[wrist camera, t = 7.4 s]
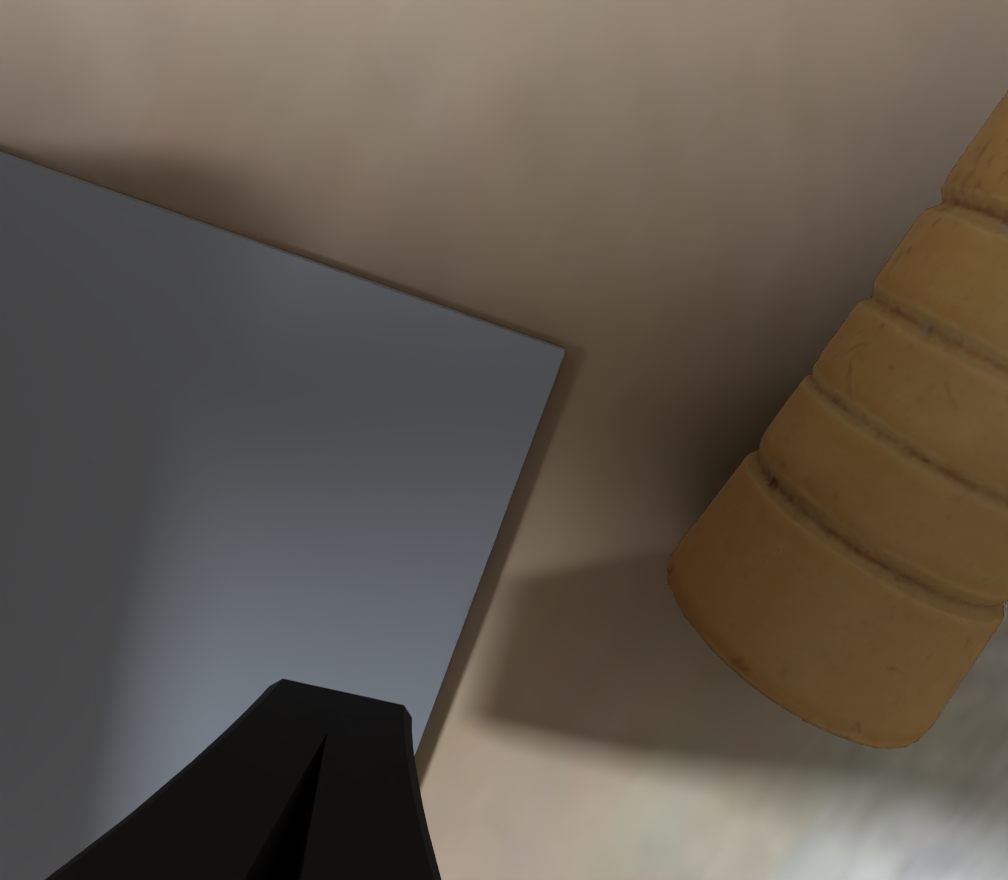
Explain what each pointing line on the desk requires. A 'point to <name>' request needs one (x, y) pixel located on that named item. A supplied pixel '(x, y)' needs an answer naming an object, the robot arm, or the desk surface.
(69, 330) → the card
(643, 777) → the desk surface
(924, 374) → the kendama
